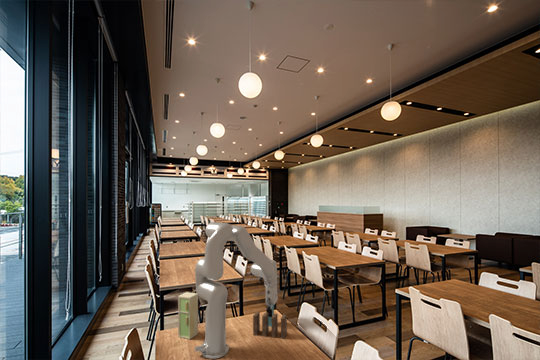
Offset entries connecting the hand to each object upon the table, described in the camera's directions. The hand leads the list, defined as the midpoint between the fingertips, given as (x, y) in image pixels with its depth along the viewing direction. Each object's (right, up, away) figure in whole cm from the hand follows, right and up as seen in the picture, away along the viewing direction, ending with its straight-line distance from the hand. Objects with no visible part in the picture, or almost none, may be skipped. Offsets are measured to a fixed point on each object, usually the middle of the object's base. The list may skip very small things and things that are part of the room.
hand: (271, 313), depth 153 cm
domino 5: (+6, -5, -14) cm, 17 cm away
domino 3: (0, -6, -1) cm, 6 cm away
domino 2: (-3, -5, -12) cm, 13 cm away
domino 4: (+2, -5, -13) cm, 14 cm away
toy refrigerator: (-44, -6, -12) cm, 46 cm away
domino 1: (-8, -6, -10) cm, 14 cm away
